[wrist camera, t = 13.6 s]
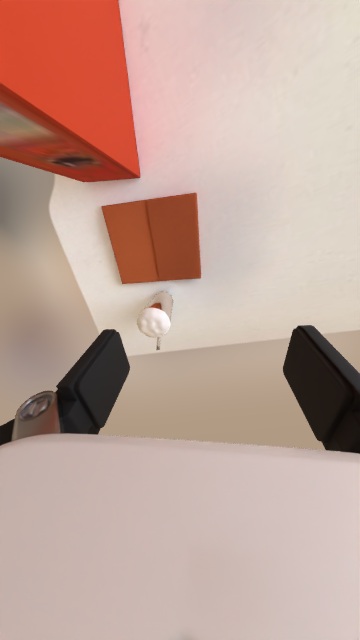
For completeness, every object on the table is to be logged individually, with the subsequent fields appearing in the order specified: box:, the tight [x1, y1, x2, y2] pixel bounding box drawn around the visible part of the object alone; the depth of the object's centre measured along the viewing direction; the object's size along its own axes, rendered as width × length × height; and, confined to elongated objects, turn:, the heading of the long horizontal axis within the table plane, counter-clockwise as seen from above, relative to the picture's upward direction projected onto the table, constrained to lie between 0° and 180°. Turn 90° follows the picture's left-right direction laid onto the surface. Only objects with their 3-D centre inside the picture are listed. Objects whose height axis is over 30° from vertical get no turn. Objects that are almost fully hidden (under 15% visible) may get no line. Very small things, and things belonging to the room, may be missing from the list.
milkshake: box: [137, 291, 173, 350], centre depth 27 cm, size 4×5×10 cm
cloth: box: [102, 193, 201, 284], centre depth 27 cm, size 11×13×1 cm
